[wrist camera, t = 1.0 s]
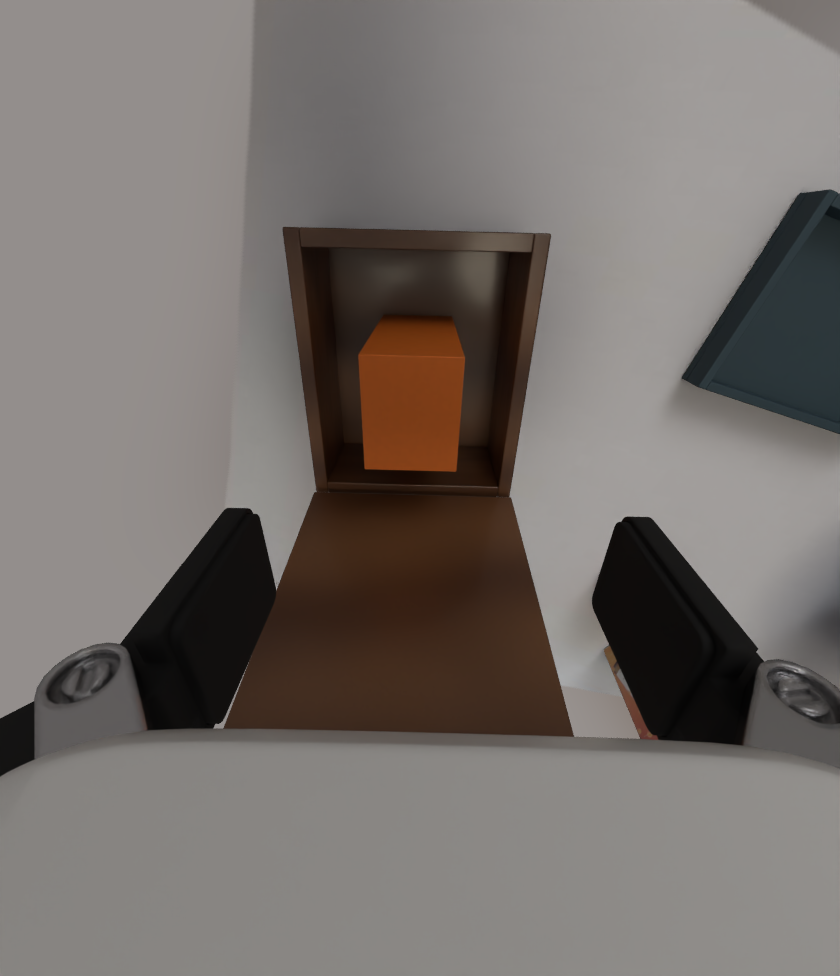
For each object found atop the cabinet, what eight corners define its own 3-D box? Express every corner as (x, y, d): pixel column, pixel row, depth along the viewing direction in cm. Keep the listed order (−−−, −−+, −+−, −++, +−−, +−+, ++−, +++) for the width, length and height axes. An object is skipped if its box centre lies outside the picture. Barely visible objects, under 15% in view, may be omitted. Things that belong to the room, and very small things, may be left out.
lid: (207, 766, 14) (243, 817, 17) (586, 778, 13) (553, 827, 16) (314, 491, 26) (323, 548, 29) (511, 496, 26) (500, 553, 29)
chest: (316, 230, 25) (281, 226, 19) (523, 235, 25) (551, 233, 19) (336, 447, 32) (316, 492, 27) (494, 451, 32) (509, 497, 26)
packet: (383, 314, 26) (357, 354, 17) (452, 316, 26) (465, 357, 17) (385, 396, 29) (364, 469, 20) (447, 398, 29) (456, 472, 20)
